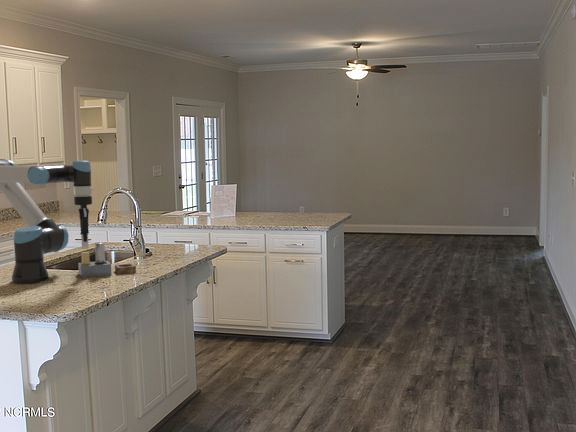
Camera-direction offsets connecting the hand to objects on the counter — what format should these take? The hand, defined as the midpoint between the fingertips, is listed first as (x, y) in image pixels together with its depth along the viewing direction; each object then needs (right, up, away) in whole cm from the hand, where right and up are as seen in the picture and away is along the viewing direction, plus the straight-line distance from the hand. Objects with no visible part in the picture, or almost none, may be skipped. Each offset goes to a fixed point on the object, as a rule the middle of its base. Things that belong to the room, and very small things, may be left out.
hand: (85, 248), depth 299 cm
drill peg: (+6, -12, +4) cm, 14 cm away
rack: (+16, -12, +8) cm, 22 cm away
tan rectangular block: (0, -9, +1) cm, 9 cm away
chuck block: (+4, -13, +3) cm, 14 cm away
